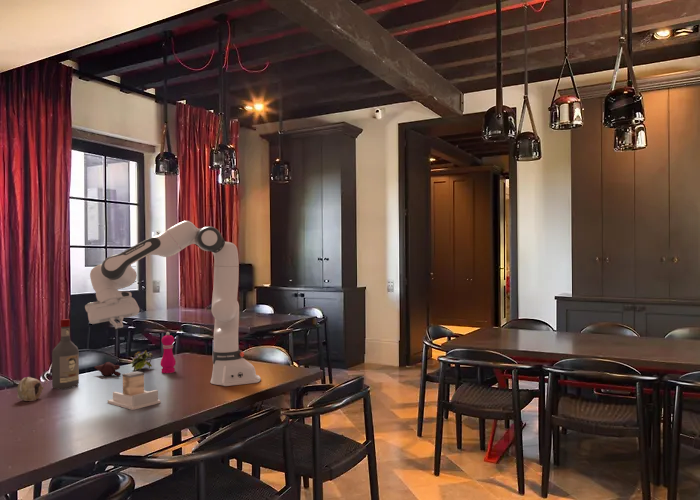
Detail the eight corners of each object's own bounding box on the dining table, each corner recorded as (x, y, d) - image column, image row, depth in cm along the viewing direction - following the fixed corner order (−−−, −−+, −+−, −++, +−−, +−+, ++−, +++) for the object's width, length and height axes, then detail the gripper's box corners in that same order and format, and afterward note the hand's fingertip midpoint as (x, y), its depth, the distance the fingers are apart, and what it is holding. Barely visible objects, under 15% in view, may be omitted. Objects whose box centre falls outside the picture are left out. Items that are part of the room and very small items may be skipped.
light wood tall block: (122, 400, 213) (122, 374, 213) (136, 396, 218) (136, 371, 218) (130, 402, 210) (129, 375, 210) (144, 398, 215) (144, 372, 215)
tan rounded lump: (21, 408, 217) (12, 386, 214) (20, 400, 224) (12, 379, 221) (46, 398, 221) (38, 376, 218) (45, 390, 228) (37, 369, 225)
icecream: (88, 363, 262) (114, 367, 258) (98, 357, 269) (124, 361, 265) (89, 376, 264) (115, 381, 260) (100, 370, 271) (125, 374, 267)
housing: (107, 402, 214) (107, 390, 214) (135, 396, 224) (135, 384, 224) (132, 409, 204) (132, 396, 204) (160, 402, 214) (160, 389, 214)
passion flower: (137, 379, 280) (142, 358, 287) (156, 376, 278) (160, 354, 285) (124, 370, 271) (129, 348, 279) (143, 367, 269) (147, 345, 276)
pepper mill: (171, 373, 267) (170, 333, 267) (157, 373, 268) (157, 332, 268) (178, 370, 274) (178, 331, 274) (165, 370, 275) (165, 330, 275)
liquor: (49, 387, 241) (49, 320, 241) (68, 383, 249) (68, 318, 249) (62, 390, 237) (62, 321, 237) (81, 385, 245) (81, 318, 245)
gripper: (85, 300, 223) (95, 329, 218) (134, 291, 237) (145, 318, 232) (82, 307, 227) (91, 336, 222) (130, 299, 241) (141, 325, 236)
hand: (119, 327), depth 227 cm, fingers closed
